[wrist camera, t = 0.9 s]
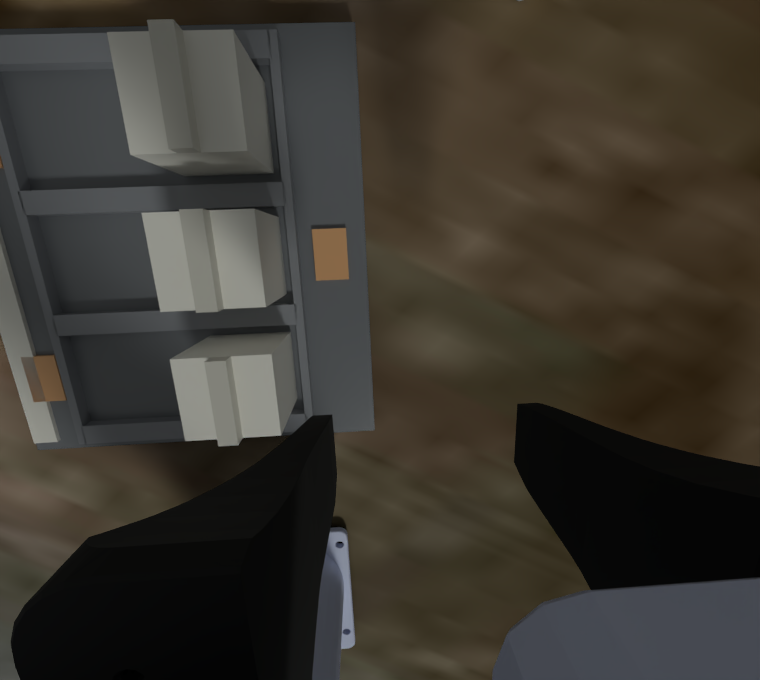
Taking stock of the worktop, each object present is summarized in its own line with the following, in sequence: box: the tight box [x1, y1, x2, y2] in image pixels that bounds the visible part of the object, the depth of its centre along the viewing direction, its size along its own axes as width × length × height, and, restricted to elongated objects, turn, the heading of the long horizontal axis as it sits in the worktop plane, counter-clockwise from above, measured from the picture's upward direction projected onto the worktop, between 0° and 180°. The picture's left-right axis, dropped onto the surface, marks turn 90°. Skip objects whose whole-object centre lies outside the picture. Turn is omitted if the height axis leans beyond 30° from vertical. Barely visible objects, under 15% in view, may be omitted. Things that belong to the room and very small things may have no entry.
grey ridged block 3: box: [170, 332, 297, 447], centre depth 17 cm, size 4×4×5 cm
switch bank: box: [0, 22, 375, 450], centre depth 18 cm, size 19×18×2 cm
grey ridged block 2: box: [142, 209, 287, 313], centre depth 15 cm, size 4×4×5 cm
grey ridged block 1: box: [107, 19, 274, 176], centre depth 14 cm, size 4×4×5 cm
